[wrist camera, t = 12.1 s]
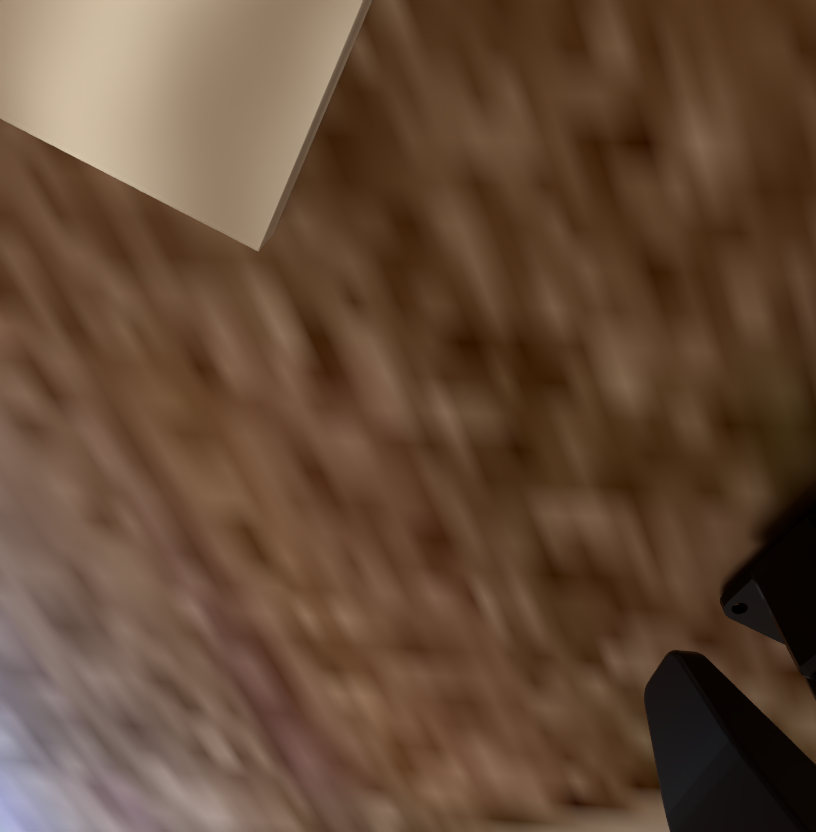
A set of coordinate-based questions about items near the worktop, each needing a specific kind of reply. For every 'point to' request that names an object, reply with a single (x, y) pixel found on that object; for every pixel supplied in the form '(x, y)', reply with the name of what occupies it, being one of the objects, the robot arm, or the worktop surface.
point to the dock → (181, 94)
